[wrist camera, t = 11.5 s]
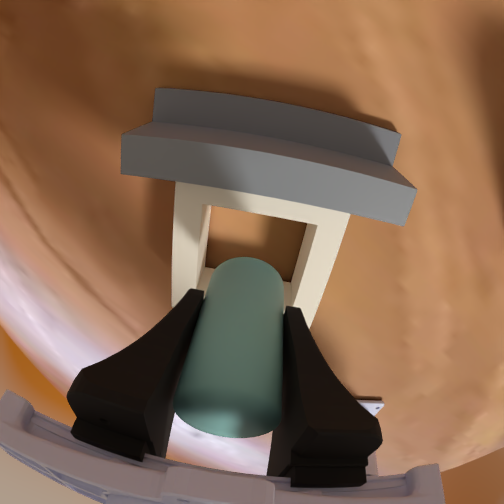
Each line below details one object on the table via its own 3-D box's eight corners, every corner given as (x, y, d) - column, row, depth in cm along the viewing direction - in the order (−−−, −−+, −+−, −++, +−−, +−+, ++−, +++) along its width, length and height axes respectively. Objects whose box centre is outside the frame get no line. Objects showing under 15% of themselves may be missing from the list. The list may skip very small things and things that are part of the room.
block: (306, 302, 22) (308, 331, 20) (183, 279, 22) (171, 307, 20) (342, 185, 18) (353, 205, 15) (191, 157, 18) (176, 171, 15)
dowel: (292, 267, 14) (296, 398, 8) (273, 321, 16) (265, 444, 10) (215, 249, 14) (174, 373, 8) (205, 306, 16) (171, 425, 10)
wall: (379, 193, 18) (404, 226, 14) (153, 151, 18) (120, 174, 14) (398, 132, 16) (430, 150, 12) (159, 87, 16) (124, 92, 12)
